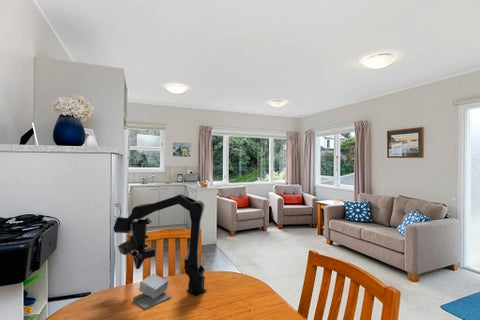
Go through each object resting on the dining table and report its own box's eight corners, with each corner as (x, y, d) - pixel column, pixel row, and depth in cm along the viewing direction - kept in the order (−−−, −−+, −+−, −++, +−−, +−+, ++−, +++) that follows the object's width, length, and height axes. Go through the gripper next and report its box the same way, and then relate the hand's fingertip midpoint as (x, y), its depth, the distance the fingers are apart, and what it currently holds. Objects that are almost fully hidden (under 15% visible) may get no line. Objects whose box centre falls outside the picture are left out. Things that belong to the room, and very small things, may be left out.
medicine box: (138, 290, 109) (153, 299, 106) (140, 280, 109) (155, 290, 105) (151, 282, 116) (166, 290, 113) (153, 272, 116) (168, 281, 112)
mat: (159, 290, 114) (159, 287, 114) (171, 298, 109) (171, 294, 109) (132, 301, 105) (133, 297, 105) (144, 309, 99) (144, 305, 99)
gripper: (111, 232, 115) (109, 267, 115) (132, 241, 103) (130, 281, 103) (135, 228, 124) (133, 261, 123) (157, 236, 112) (155, 273, 111)
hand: (137, 268), depth 115 cm, fingers closed
